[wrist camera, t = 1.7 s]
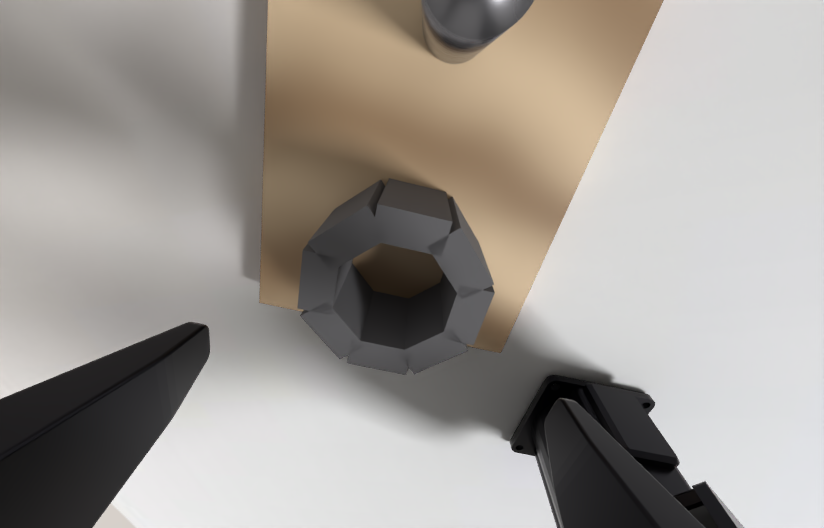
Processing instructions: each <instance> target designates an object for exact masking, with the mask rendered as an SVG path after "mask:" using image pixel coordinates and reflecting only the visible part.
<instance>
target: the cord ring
mask: <svg viewBox="0 0 824 528" xmlns="http://www.w3.org/2000/svg"><path fill="white" fill-rule="evenodd" d="M307 243H308V244H307V245H306V246H305V248H304V249H303V252H302V263H301V274H300V285H299V295H298V306H297V308H298V309H303V312H302V314H301V315H300V316H301V317H302V318H303V320H304V321H305V322H306V323H307V324H308V325H309V326H310V327H311V328H312V329H313V330H314V332H315V333H316V334H317V335H318V336H319V337H320V338H321V339H322V340H323V341H324V343H325V344H326V345H327V346H328V347H329V348H330V349H331V350H332V351H333V352H334V353H335V355H336V356H337V357H338V358H339V359H341V358H343V357H345V356H347V355H349V356H348V361H347V363H349V364H354V365H359V366H364V367H369V368H374V369H379V370H384V371H389V372H394V373H399V374H404V375H406V373H407V370H408V367H409V368H410V370H411V371H412V372H413V373H414V374H416V373H418V372H420V371H423V370H425V369H427V368H429V367H432V366H434V365H436V364H439V363H441V362H443V361H446V360H448V359H450V358H452V357H455V356H457V355H459V354H462V353H464V352H466V351H468V350H467V344H469V345H474V343H475V340H476V338H477V335H478V333H479V331H480V328H481V326H482V323H483V321H484V318H485V316H486V313H487V311H488V308H489V306H490V304H491V301H492V299H493V296H494V294H495V292H494V289H493V286H492V285H494V282H493V279H492V277H491V274H490V271H489V269H488V266H487V263H486V260H485V258H484V255H483V252H482V249H481V247H480V244H479V242H478V240H477V238H476V237H475V235H474V233H473V231H472V230H471V228H470V226H469V224H468V223H467V221H466V219H465V217H464V216H463V214H462V212H461V210H460V209H459V207H458V205H457V203H456V202H455V200H454V198H453V197H451V198H450V199H448V198H447V193H446V192H445V191H440V190H436V189H432V188H428V187H424V186H420V185H416V184H411V183H407V182H403V181H399V180H395V179H391V178H389V179H388V182H387V184H386V186H385V185H384V183H383V182H382V180H379V181H378V182H376V183H374V184H373V185H371V186H370V187H368V188H367V189H365V190H363V191H362V192H360V193H359V194H357V195H356V196H354V197H353V198H351V199H349V200H348V201H346V202H345V203H343V204H342V205H340V206H338V207H337V208H335V209H334V210H333V211H332V213H331V214H330V215H329V216H328V218H327V219H326V220H325V221H324V223H323V224H322V225H321V226H320V228H319V229H318V230H317V231H316V232H315V234H314V235H313V236H312V237H311V239H310V240H309V241H308V242H307ZM379 243H384V244H388V245H392V246H397V247H401V248H406V249H410V250H414V251H419V252H423V253H428V254H432V255H433V257H434V258H435V260H436V261H437V263H438V264H439V266H440V267H441V269H442V271H443V275H442V278H441V281H440V283H438V284H436V285H434V286H432V287H430V288H428V289H426V290H424V291H423V292H421V293H419V294H417V295H415V296H413V297H411V298H404V297H400V296H395V295H390V294H386V293H381V292H377V291H373V289H372V288H371V287H370V285H369V284H368V283H367V282H366V280H365V279H364V278H363V276H362V275H361V274H360V272H359V271H358V270H357V269H356V267H355V266H354V265H353V263H352V262H353V258H355V257H357V256H359V255H360V254H362V253H364V252H366V251H367V250H369V249H371V248H372V247H374V246H376V245H378V244H379Z"/></svg>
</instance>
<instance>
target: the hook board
mask: <svg viewBox="0 0 824 528" xmlns="http://www.w3.org/2000/svg"><path fill="white" fill-rule="evenodd" d="M662 3H663V0H534V2H533V3H532V5H531V6H530V8H529V9H528V11H527V12H526V13H525V14H524V16H523V17H522V18H521V19H520V20H519V21H518V22H517V23H516V24H514V25H513V26H512V27H511V28H509V29H508V30H507V31H506V32H504V33H503V34H502V35H501V36H499V37H498V38H497V39H496V40H495V41H493V42H492V43H491V44H490V45H488V46H487V47H486V48H485V49H483V50H482V51H481V52H480V53H479V54H477V55H476V56H475V57H474V58H472V59H471V60H469V61H467V62H464V63H461V64H448V63H445V62H442V61H441V60H439V59H437V58H436V57H435V56H434V55H433V54H432V53H431V51H430V50H429V49H428V47H427V45H426V42H425V40H424V36H423V30H422V10H421V0H268V17H267V52H266V88H265V123H264V158H263V194H262V229H261V265H260V300H259V303H264V304H268V305H273V306H278V307H283V308H287V309H292V310H297V311H302V312H303V309H298V308H297V306H298V295H299V285H300V274H301V263H302V252H303V249H304V248H305V246H306V245H307V244H308V243H307V242H308V241H309V240H310V239H311V237H312V236H313V235H314V234H315V232H316V231H317V230H318V229H319V228H320V226H321V225H322V224H323V223H324V221H325V220H326V219H327V218H328V216H329V215H330V214H331V213H332V211H333V210H334V209H335V208H337V207H338V206H340V205H342V204H343V203H345V202H346V201H348V200H349V199H351V198H353V197H354V196H356V195H357V194H359V193H360V192H362V191H363V190H365V189H367V188H368V187H370V186H371V185H373V184H374V183H376V182H378V181H379V180H382V182H383V183H384V185H385V186H386V184H387V182H388V179H389V178H391V179H395V180H399V181H403V182H407V183H411V184H416V185H420V186H424V187H428V188H432V189H436V190H440V191H445V192H446V193H447V198H448V199H450V198H451V197H453V198H454V200H455V202H456V203H457V205H458V207H459V209H460V210H461V212H462V214H463V216H464V217H465V219H466V221H467V223H468V224H469V226H470V228H471V230H472V231H473V233H474V235H475V237H476V238H477V240H478V242H479V244H480V247H481V249H482V252H483V255H484V258H485V260H486V263H487V266H488V269H489V271H490V274H491V277H492V279H493V282H494V285H492V286H493V289H494V292H495V294H494V296H493V299H492V301H491V304H490V306H489V308H488V311H487V313H486V316H485V318H484V321H483V323H482V326H481V328H480V331H479V333H478V335H477V338H476V340H475V343H474V345H469V344H467V346H469V347H474V348H478V349H483V350H488V351H493V352H498V353H501V351H502V349H503V347H504V345H505V343H506V340H507V338H508V336H509V334H510V332H511V330H512V327H513V325H514V323H515V321H516V319H517V317H518V314H519V312H520V310H521V308H522V306H523V304H524V301H525V299H526V297H527V295H528V293H529V291H530V288H531V286H532V284H533V282H534V280H535V278H536V275H537V273H538V271H539V269H540V267H541V265H542V262H543V260H544V258H545V256H546V254H547V252H548V249H549V247H550V245H551V243H552V241H553V239H554V236H555V234H556V232H557V230H558V228H559V226H560V223H561V221H562V219H563V217H564V215H565V213H566V211H567V208H568V206H569V204H570V202H571V200H572V198H573V195H574V193H575V191H576V189H577V187H578V185H579V182H580V180H581V178H582V176H583V174H584V172H585V169H586V167H587V165H588V163H589V161H590V159H591V156H592V154H593V152H594V150H595V148H596V146H597V143H598V141H599V139H600V137H601V135H602V133H603V130H604V128H605V126H606V124H607V122H608V120H609V117H610V115H611V113H612V111H613V109H614V107H615V104H616V102H617V100H618V98H619V96H620V94H621V91H622V89H623V87H624V85H625V83H626V81H627V78H628V76H629V74H630V72H631V70H632V68H633V65H634V63H635V61H636V59H637V57H638V55H639V52H640V50H641V48H642V46H643V44H644V42H645V39H646V37H647V35H648V33H649V31H650V29H651V26H652V24H653V22H654V20H655V18H656V16H657V13H658V11H659V9H660V7H661V5H662ZM352 263H353V265H354V266H355V267H356V269H357V270H358V271H359V272H360V274H361V275H362V276H363V278H364V279H365V280H366V282H367V283H368V284H369V285H370V287H371V288H372V289H373V291H377V292H381V293H386V294H390V295H395V296H400V297H404V298H411V297H413V296H415V295H417V294H419V293H421V292H423V291H424V290H426V289H428V288H430V287H432V286H434V285H436V284H438V283H440V281H441V278H442V275H443V271H442V269H441V267H440V266H439V264H438V263H437V261H436V260H435V258H434V257H433V255H432V254H428V253H423V252H419V251H414V250H410V249H406V248H401V247H397V246H392V245H388V244H384V243H379V244H378V245H376V246H374V247H372V248H371V249H369V250H367V251H366V252H364V253H362V254H360V255H359V256H357V257H355V258H353V262H352Z"/></svg>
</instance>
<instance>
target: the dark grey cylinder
mask: <svg viewBox="0 0 824 528" xmlns="http://www.w3.org/2000/svg"><path fill="white" fill-rule="evenodd" d="M533 2H534V0H421V10H422V30H423V36H424V40H425V42H426V45H427V47H428V49H429V50H430V51H431V53H432V54H433V55H434V56H435V57H436V58H437V59H439V60H441V61H442V62H445V63H448V64H461V63H464V62H467V61H469V60H471V59H472V58H474V57H475V56H476V55H477V54H479V53H480V52H481V51H482V50H483V49H485V48H486V47H487V46H488V45H490V44H491V43H492V42H493V41H495V40H496V39H497V38H498V37H499V36H501V35H502V34H503V33H504V32H506V31H507V30H508V29H509V28H511V27H512V26H513V25H514V24H516V23H517V22H518V21H519V20H520V19H521V18H522V17H523V16H524V14H525V13H526V12H527V11H528V9H529V8H530V6H531V5H532V3H533Z"/></svg>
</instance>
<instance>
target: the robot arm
mask: <svg viewBox="0 0 824 528" xmlns="http://www.w3.org/2000/svg"><path fill="white" fill-rule="evenodd" d="M209 354H210V340H209V328H208V326H206V325H204V324H199V323H195V322H188V323H185V324H182V325H180V326H177V327H175V328H172V329H170V330H168V331H165V332H163V333H160V334H158V335H155V336H153V337H151V338H148V339H146V340H143V341H141V342H138V343H136V344H133V345H131V346H129V347H126V348H124V349H121V350H119V351H116V352H114V353H112V354H109V355H107V356H104V357H102V358H99V359H97V360H94V361H92V362H90V363H87V364H85V365H82V366H80V367H77V368H75V369H73V370H70V371H68V372H65V373H63V374H60V375H58V376H56V377H53V378H51V379H48V380H46V381H43V382H41V383H38V384H36V385H34V386H31V387H29V388H26V389H24V390H21V391H19V392H16V393H14V394H12V395H9V396H7V397H4V398H2V399H0V528H92V527H93V526H94V525H95V523H96V522H97V521H98V519H99V518H100V517H101V515H102V514H103V513H104V511H105V510H106V508H107V507H108V506H109V504H110V503H111V502H112V500H113V499H114V498H115V496H116V495H117V493H118V492H119V491H120V489H121V488H122V487H123V485H124V484H125V483H126V481H127V480H128V479H129V477H130V476H131V474H132V473H133V472H134V470H135V469H136V468H137V466H138V465H139V464H140V462H141V461H142V459H143V458H144V457H145V455H146V454H147V453H148V451H149V450H150V449H151V447H152V446H153V445H154V443H155V442H156V440H157V439H158V438H159V436H160V435H161V434H162V432H163V431H164V430H165V428H166V427H167V425H168V424H169V423H170V421H171V420H172V418H173V417H174V415H175V413H176V412H177V410H178V409H179V407H180V405H181V404H182V402H183V400H184V399H185V397H186V395H187V393H188V392H189V390H190V388H191V387H192V385H193V383H194V382H195V380H196V378H197V377H198V375H199V373H200V371H201V370H202V368H203V366H204V365H205V363H206V361H207V359H208V357H209ZM553 384H555V385H553ZM654 406H655V402H654V401H653V399H652V398H651V397H650V396H649V395H648V394H644V393H639V392H635V391H630V390H625V389H620V388H615V387H610V386H606V385H601V384H596V383H591V382H586V381H582V380H577V379H572V378H567V377H562V376H557V375H552V376H549V377H547V378H546V379H545V381H544V383H543V384H542V386H541V388H540V390H539V391H538V393H537V395H536V397H535V398H534V400H533V402H532V404H531V405H530V407H529V409H528V411H527V412H526V414H525V416H524V418H523V419H522V421H521V423H520V425H519V427H518V428H517V430H516V432H515V434H514V435H513V437H512V439H511V441H510V444H511V448H512V450H513V451H514V452H517V453H522V454H527V455H532V456H535V457H536V460H537V463H538V467H539V470H540V473H541V476H542V480H543V483H544V486H545V490H546V493H547V496H548V499H549V503H550V506H551V509H552V512H553V516H554V519H555V522H556V526H557V528H744V527H743V526H742V524H741V523H740V522H739V521H738V520H737V519H736V517H735V516H734V515H733V514H732V513H731V511H730V510H729V509H728V508H727V507H726V506H725V504H724V503H723V502H722V501H721V500H720V498H719V497H718V496H717V495H716V494H715V492H714V491H713V490H712V489H711V488H710V487H709V485H708V484H707V483H706V482H705V481H704V482H702V483H699V484H696V485H693V486H692V487H693V489H691V488H690V486H689V485H688V483H687V482H686V480H685V479H684V477H683V476H682V474H681V473H680V471H679V470H678V469H677V466H678V465H679V463H680V462H679V460H678V458H677V456H676V454H675V453H674V451H673V450H672V449H671V447H670V446H669V444H668V443H667V441H666V440H665V438H664V437H663V436H662V434H661V433H660V431H659V430H658V428H657V427H656V426H655V424H654V423H653V421H652V420H651V418H650V417H649V416H648V414H649V412H650V411H651V410H652V409H653V408H654Z"/></svg>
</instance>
